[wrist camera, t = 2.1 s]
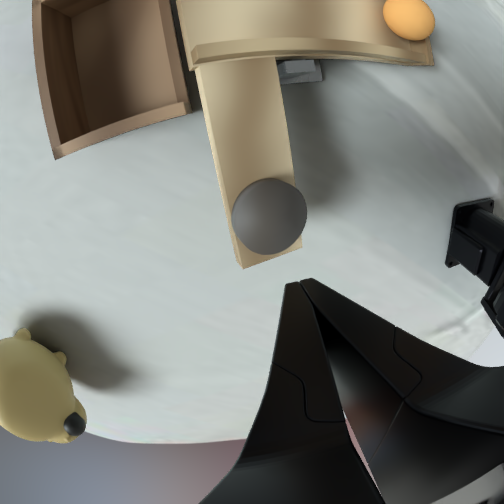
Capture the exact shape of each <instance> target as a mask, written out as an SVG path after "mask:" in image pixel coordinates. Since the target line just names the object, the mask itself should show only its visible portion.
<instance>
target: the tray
mask: <svg viewBox="0 0 504 504" xmlns="http://www.w3.org/2000/svg"><path fill="white" fill-rule="evenodd" d="M32 28H33V44H34V56H35V65H36V73H37V80H38V86H39V93H40V98H41V104H42V109H43V114H44V118H45V123H46V127H47V132H48V136H49V140H50V144H51V147H52V151H53V155H54V158H55V160H56V159H59V158H61V157H63V156H66V155H68V154H70V153H73V152H75V151H78V150H80V149H83V148H85V147H88V146H90V145H93V144H95V143H98V142H101V141H103V140H106V139H109V138H111V137H114V136H117V135H120V134H123V133H126V132H129V131H132V130H135V129H138V128H141V127H144V126H147V125H151V124H154V123H157V122H161V121H164V120H168V119H172V118H175V117H179V116H183V115H187V114H191V113H192V109H191V104H190V99H189V95H188V90H187V85H186V80H185V75H184V70H183V65H182V60H181V55H180V50H179V45H178V40H177V35H176V29H175V24H174V18H173V13H172V7H171V2H170V0H32Z"/></svg>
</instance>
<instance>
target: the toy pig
mask: <svg viewBox="0 0 504 504" xmlns="http://www.w3.org/2000/svg"><path fill="white" fill-rule="evenodd" d="M66 360H67V359H66V356H65V354H64V353H63V352H60V351H58V352H55V353H52V352H51V351H50V350H48V349H47V348H46V347H44V346H43V345H41V344H39V343H37V342H35V341H32V340H31V334H30V332H29V331H28V330H27V329H25V328H21V329H19V330H18V331H17V333H16V334H15V335H14V336H13V337H9V338H5V339H2V340H0V425H1V426H2V427H4V428H5V429H6V430H8V431H9V432H11V433H12V434H14V435H16V436H18V437H20V438H23V439H26V440H30V441H45V440H48V441H49V442H52V441H54V442H58V443H68V442H71V441H73V440H75V439H76V438H77V437H78V436H79V435H81V434H82V433H83V432H84V431H85V428H86V423H87V417H86V412H85V409H84V407H83V406H82V404H81V403H80V402H79V400H78V399H77V398H76V397H75V396H74V392H73V386H72V382H71V379H70V376H69V374H68V372H67V370H66V368H65V364H66Z"/></svg>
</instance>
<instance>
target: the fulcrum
mask: <svg viewBox="0 0 504 504" xmlns="http://www.w3.org/2000/svg"><path fill="white" fill-rule="evenodd" d="M276 66H277V71H278V76H279V82H280V85H282V84H292V83H303V82H317V81H323V79H322V73H321V68H320V62H319V59H282V60H276Z"/></svg>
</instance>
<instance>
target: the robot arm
mask: <svg viewBox="0 0 504 504" xmlns="http://www.w3.org/2000/svg"><path fill="white" fill-rule="evenodd" d="M493 207H494V201H493V200H492V199H490V198H489V199H484V200H480V201H475V202H470V203H466V204H461V205H457V206H456V207H455V208H454V211H453V219H452V226H451V233H450V240H449V245H448V251H447V256H446V262H445V265H446V266H447V267H448V268H451V267H453V266H456V265H458V264H461V265H463V266H464V267H465V268H466V269H467V270H468V271H469V272H471V273H472V274H473V275H474V276H475V275H476V276H477V277H478V278H479V279H481V280H482V281H483V282H484V283H485V284H486V285H487V286H490V287H489V289H488V291H487V293H486V294H485V296H484V297H483V298H482V300H481V304H482V306H483V307H484V309H485V311H486V312H487V314H488V315H489V317H490V319H491V320H492V322H493V323H494V325H495V326H496V328H497V330H498V331H499V333H500V334H501V336H502V337H503V338H504V220H502V219H501V218H499V217H498V216H496V215H494V214H493ZM342 408H343V409H342ZM343 410H344V413H345V415H346V417H347V419H348V421H349V423H350V426H351V428H352V430H353V432H354V434H355V437H356V439H357V441H358V443H359V445H360V447H361V450H362V452H363V454H364V457H365V459H366V461H367V463H368V466H369V468H370V470H371V472H372V475H373V477H374V479H375V481H376V484H377V486H378V488H379V490H378V489H377V487H376V485H375V483H374V481H373V480H372V478H371V476H370V474H369V472H368V471H367V469H366V467H365V465H364V463H363V462H362V460H361V458H360V456H359V454H358V453H357V451H356V449H355V447H354V445H353V443H352V441H351V438H350V435H349V432H348V429H347V425H346V423H345V417H344V413H343ZM379 491H380V492H379ZM380 493H381V494H380ZM381 495H382V496H381ZM382 497H383V498H382ZM199 504H504V366H501V367H484V366H480V365H476V364H473V363H471V362H469V361H466V360H464V359H462V358H460V357H457V356H455V355H453V354H450V353H448V352H446V351H444V350H441V349H439V348H437V347H435V346H433V345H431V344H429V343H426V342H424V341H422V340H420V339H418V338H417V337H415V336H413V335H411V334H409V333H407V332H406V331H404V330H402V329H401V328H399V327H395V325H393V324H392V323H390V322H388V321H387V320H385V319H383V318H381V317H380V316H378V315H376V314H374V313H373V312H371V311H369V310H367V309H366V308H364V307H362V306H361V305H359V304H357V303H355V302H354V301H352V300H350V299H348V298H347V297H345V296H343V295H341V294H340V293H338V292H336V291H334V290H333V289H331V288H329V287H327V286H326V285H324V284H322V283H320V282H319V281H317V280H315V279H313V278H308V279H304V280H301V281H300V282H292V283H288V284H286V285H285V288H284V294H283V301H282V307H281V312H280V318H279V324H278V330H277V335H276V341H275V347H274V352H273V357H272V364H271V367H270V372H269V377H268V381H267V385H266V389H265V393H264V396H263V399H262V402H261V405H260V408H259V410H258V413H257V415H256V418H255V420H254V423H253V425H252V428H251V430H250V432H249V435H248V437H247V440H246V442H245V444H244V447H243V449H242V451H241V453H240V455H239V457H238V459H237V461H236V463H235V464H234V466H233V467H232V469H231V470H230V471H229V472H228V473H227V475H226V476H225V477H224V478H223V479H222V480H221V481H220V482H219V483H218V484H217V485H216V486H215V487H214V488H213V490H212V491H211V492H210V493H209V494H208V495H207V496H206V497H205V498H204V499H203V500H202V501H201V502H200V503H199Z"/></svg>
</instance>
